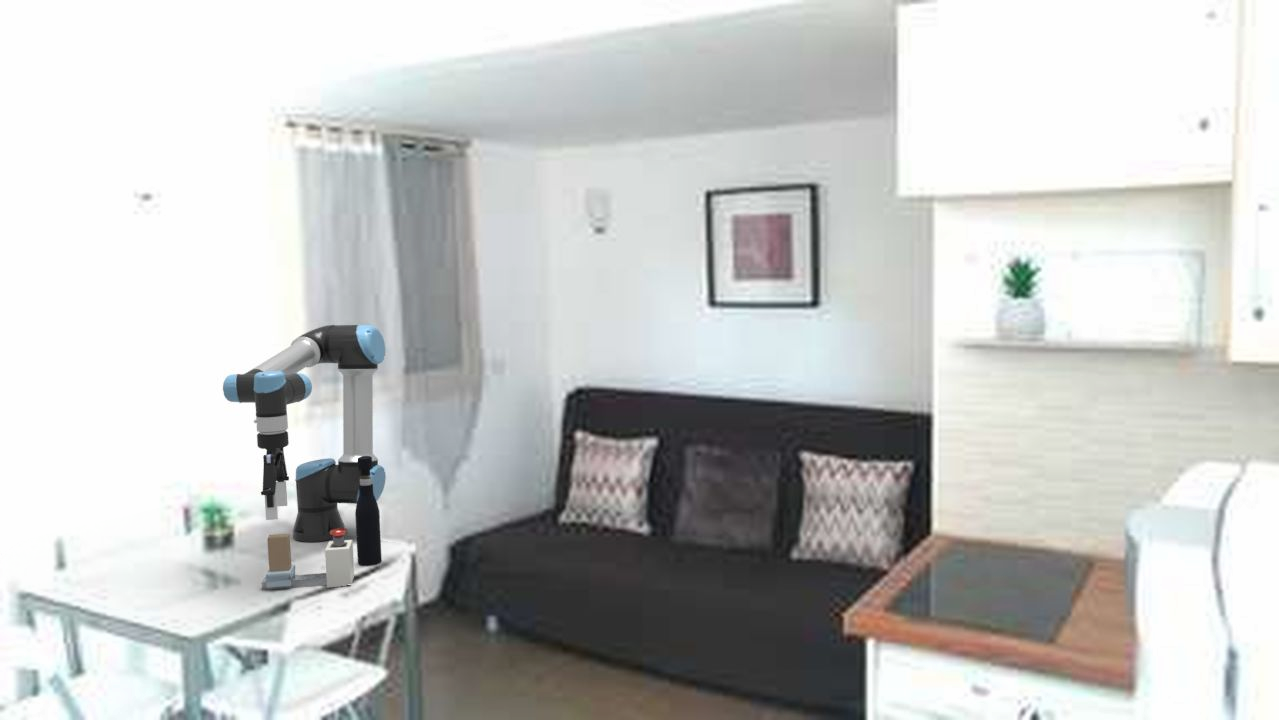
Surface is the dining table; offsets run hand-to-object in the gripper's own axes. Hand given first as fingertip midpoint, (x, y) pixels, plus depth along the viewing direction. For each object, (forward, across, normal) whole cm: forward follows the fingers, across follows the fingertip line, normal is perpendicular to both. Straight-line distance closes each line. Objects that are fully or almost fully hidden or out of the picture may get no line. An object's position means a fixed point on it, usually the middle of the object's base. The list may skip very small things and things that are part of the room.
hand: (277, 512), depth 255 cm
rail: (+20, 0, +4) cm, 20 cm away
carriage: (+20, 0, 0) cm, 20 cm away
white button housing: (+20, 0, +15) cm, 25 cm away
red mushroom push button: (+13, 0, +15) cm, 20 cm away
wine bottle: (+20, -15, +21) cm, 33 cm away
